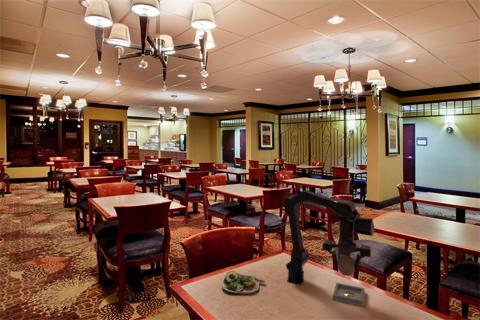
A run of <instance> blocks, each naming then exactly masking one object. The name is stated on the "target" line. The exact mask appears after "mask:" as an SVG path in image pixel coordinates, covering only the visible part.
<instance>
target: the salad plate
mask: <svg viewBox="0 0 480 320" xmlns="http://www.w3.org/2000/svg"><path fill="white" fill-rule="evenodd" d="M264 283H266V281H265V279H264V280H262V279H260V278H258V277H257V276H255V275H253V274H242V273H238V272H237V271H235V270H230V271H228V272H227V273H226V274H225V276H224V278H223V281H222V286H221V288H222V290H223V291H224V292H225V293H227V294H230V293H231V294H232V295H246V294H247V295H248V294H253V293H256V292H257V291H258V290H259V289H260V284H264ZM246 287H249V288H251V290H248V291H243V290H244V289H247V288H246ZM243 288H244V289H243ZM231 294H230V295H231Z"/></svg>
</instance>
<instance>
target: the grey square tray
mask: <svg viewBox="0 0 480 320" xmlns="http://www.w3.org/2000/svg"><path fill="white" fill-rule="evenodd" d="M365 292H366V291H365V288H364V287H359V286H355V285H351V284H345V283H340V282H336V283H335V287H334V290H333V293H332V297H331V299H332V301H335V302H339V303H345V304H349V305H352V306H358V307H362V308H364V307H365V294H366V293H365Z"/></svg>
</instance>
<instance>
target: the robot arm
mask: <svg viewBox="0 0 480 320" xmlns="http://www.w3.org/2000/svg"><path fill="white" fill-rule="evenodd" d="M307 201H308V202H310V203H313V204H316V205H318V206H322V207H325V208H327V209H329V210H331V211H333V212H334V213H335V214H337V215H336V216H335V217H334V218H333V220H334V221H338V227H339V228H338V233H339V234H338V236H339V237H338V242H337V244H336V243H335V241H334V240H324V241H323V243H322V251H326V252H327V253H328V254H330V255H332V257H333V260H334V263H335V266H336V267H337V268H338V260H339V258H338V257H339V256H338V255H340V256H342V254H343V255H347V256H351V255H352V254H354V253H355V254H356V257H355V271H357V269H358V266H359V263H360V261H361V260H362V259H364V258H365V257H367V258H371V257H372V247H371V246H370V245H366V244H365V245H364V244H361V245H360V247H359V246H357V243H355V242H354V241H355V233H356V234H357V235H362V236H363V235H364V236H369V237H374V234H375V224H374V223H375V222H374V219H373V217H372V218H371V217H361V214H360V212H358V210H357V209H356V205H355V203H354V202H353V201H351V200H346V199H335V198H332V197H328V196H325V195H322V194H319V193H316V192H313V191H311V190H309V189H308V190H307V189H305V190H303V191H301V192H300V193H298V194H297V195H294V196H290V197H288V198H284V200H283V202H282V205H283V208H284V212H285V214H286V216H287V217H288V223H289V230H290V239H291V246H292V249H291V252H290V261H289V262H288V263H286V265H285V266H286V270H287V274H288V276H287V277H288V278H287V280H286V282H287V283H292V284H296V285H301V284H302V282H304V281H305V280H304V279H305V271H304V266H305V264H307V262H308V261H309V258H310V256H309V249H308V248H306V247H304V244H303V237H302V229H301V223H300V213H301V206H302V203H304V202H307Z"/></svg>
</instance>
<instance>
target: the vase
mask: <svg viewBox="0 0 480 320" xmlns="http://www.w3.org/2000/svg"><path fill="white" fill-rule="evenodd" d="M355 263H356V261H355V260H354V258H353V257H352V256H351V255H350V256H347V255H343V254H342V255H340V257H339V258H338V267H337V269H338V271H339V273H340V274H342V275H343V276H347V277H348V276H352V275H353V274H355V271H356V270H355Z"/></svg>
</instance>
